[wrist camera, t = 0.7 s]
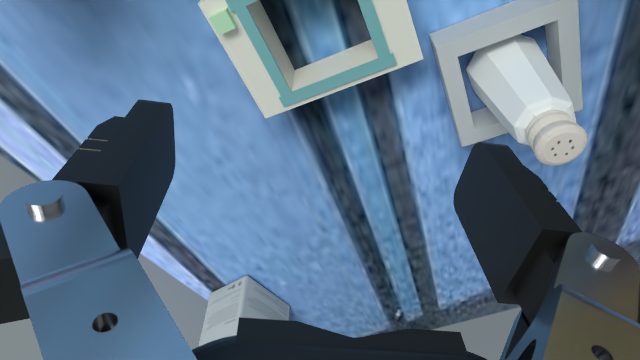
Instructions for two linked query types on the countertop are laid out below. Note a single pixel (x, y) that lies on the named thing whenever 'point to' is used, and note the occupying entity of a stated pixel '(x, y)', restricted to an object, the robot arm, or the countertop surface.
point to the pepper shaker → (527, 98)
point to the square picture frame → (496, 25)
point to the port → (321, 76)
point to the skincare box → (239, 308)
